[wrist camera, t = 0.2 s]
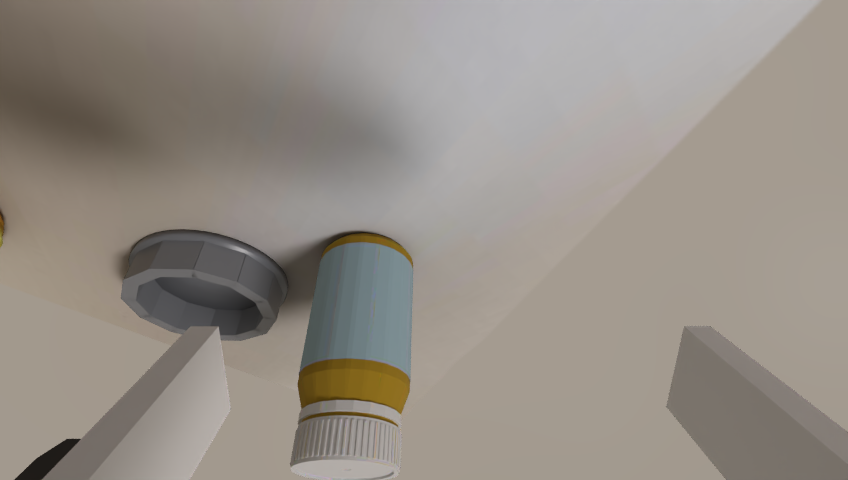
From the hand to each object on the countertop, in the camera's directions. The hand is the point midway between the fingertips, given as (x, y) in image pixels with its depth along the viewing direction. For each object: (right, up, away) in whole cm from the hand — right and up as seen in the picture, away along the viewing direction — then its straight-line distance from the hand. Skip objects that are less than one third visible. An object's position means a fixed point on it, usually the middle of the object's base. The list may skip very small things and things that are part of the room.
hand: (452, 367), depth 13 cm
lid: (-18, +1, +24) cm, 30 cm away
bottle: (-5, +2, +22) cm, 22 cm away
